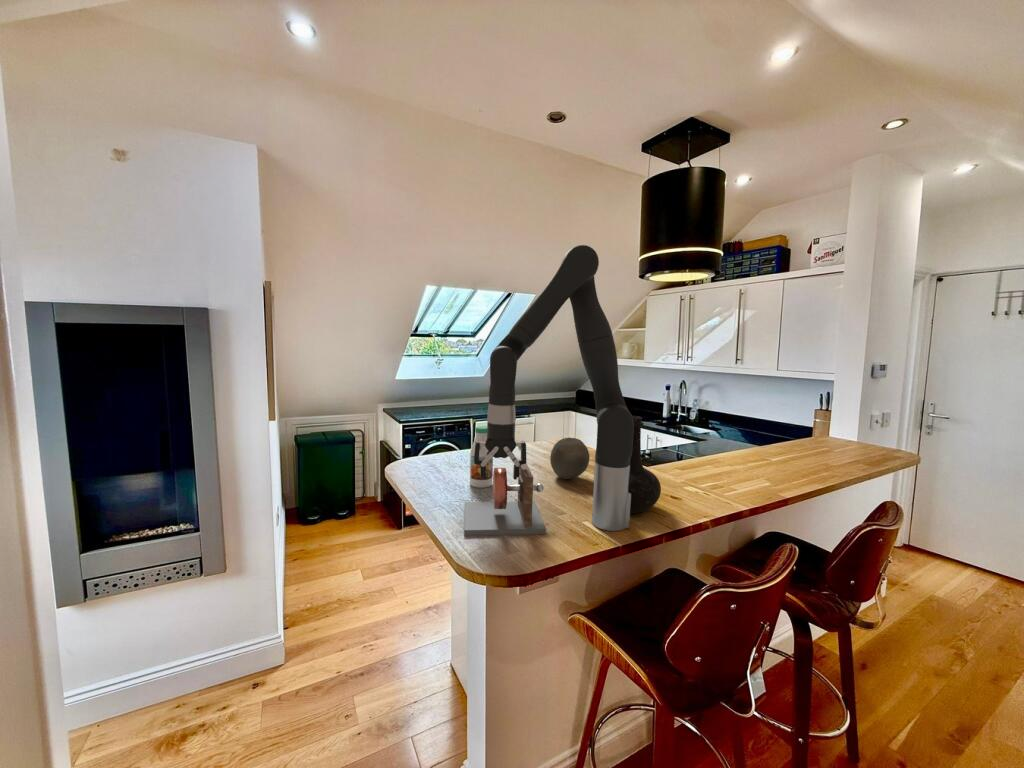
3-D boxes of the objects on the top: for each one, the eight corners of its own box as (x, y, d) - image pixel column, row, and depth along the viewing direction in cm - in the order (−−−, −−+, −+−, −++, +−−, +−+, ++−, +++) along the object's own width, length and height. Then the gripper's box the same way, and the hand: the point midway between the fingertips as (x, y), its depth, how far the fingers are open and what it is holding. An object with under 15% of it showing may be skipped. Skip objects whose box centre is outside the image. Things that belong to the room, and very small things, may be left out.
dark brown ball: (545, 482, 145) (547, 440, 144) (553, 470, 159) (555, 432, 157) (586, 487, 141) (588, 445, 140) (590, 475, 155) (592, 436, 153)
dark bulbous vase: (617, 522, 115) (623, 423, 112) (588, 498, 132) (593, 411, 129) (672, 517, 119) (679, 421, 116) (637, 494, 136) (643, 410, 133)
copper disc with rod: (539, 499, 121) (540, 462, 119) (546, 515, 110) (548, 475, 109) (492, 499, 119) (493, 462, 118) (495, 516, 108) (496, 475, 107)
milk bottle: (465, 484, 141) (466, 426, 139) (482, 479, 147) (483, 423, 145) (479, 490, 136) (480, 430, 134) (496, 485, 141) (498, 427, 139)
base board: (534, 506, 124) (534, 501, 124) (546, 534, 107) (546, 528, 106) (464, 507, 122) (464, 502, 122) (464, 535, 104) (464, 530, 104)
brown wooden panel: (524, 504, 122) (525, 461, 120) (531, 525, 108) (533, 477, 107) (515, 504, 122) (516, 461, 120) (521, 525, 108) (523, 477, 106)
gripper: (525, 418, 116) (523, 474, 117) (474, 417, 114) (473, 474, 116) (529, 423, 108) (527, 483, 110) (475, 423, 107) (473, 483, 108)
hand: (499, 478), depth 113 cm, fingers open, 8 cm apart
